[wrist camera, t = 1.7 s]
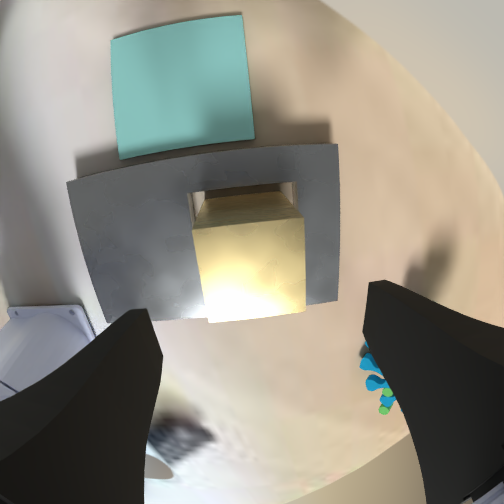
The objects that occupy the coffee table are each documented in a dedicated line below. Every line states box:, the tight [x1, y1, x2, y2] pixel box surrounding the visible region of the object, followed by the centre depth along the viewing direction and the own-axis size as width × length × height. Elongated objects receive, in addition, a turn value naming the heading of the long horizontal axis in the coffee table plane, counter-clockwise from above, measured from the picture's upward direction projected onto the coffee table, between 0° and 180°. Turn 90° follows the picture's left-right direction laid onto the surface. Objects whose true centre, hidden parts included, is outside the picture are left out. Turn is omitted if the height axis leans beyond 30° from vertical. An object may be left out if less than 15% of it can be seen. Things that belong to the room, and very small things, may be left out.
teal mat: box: [111, 15, 255, 160], centre depth 14 cm, size 8×8×1 cm
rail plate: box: [66, 143, 340, 323], centre depth 17 cm, size 16×10×1 cm, turn 95°
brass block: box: [192, 191, 306, 323], centre depth 15 cm, size 4×4×6 cm
